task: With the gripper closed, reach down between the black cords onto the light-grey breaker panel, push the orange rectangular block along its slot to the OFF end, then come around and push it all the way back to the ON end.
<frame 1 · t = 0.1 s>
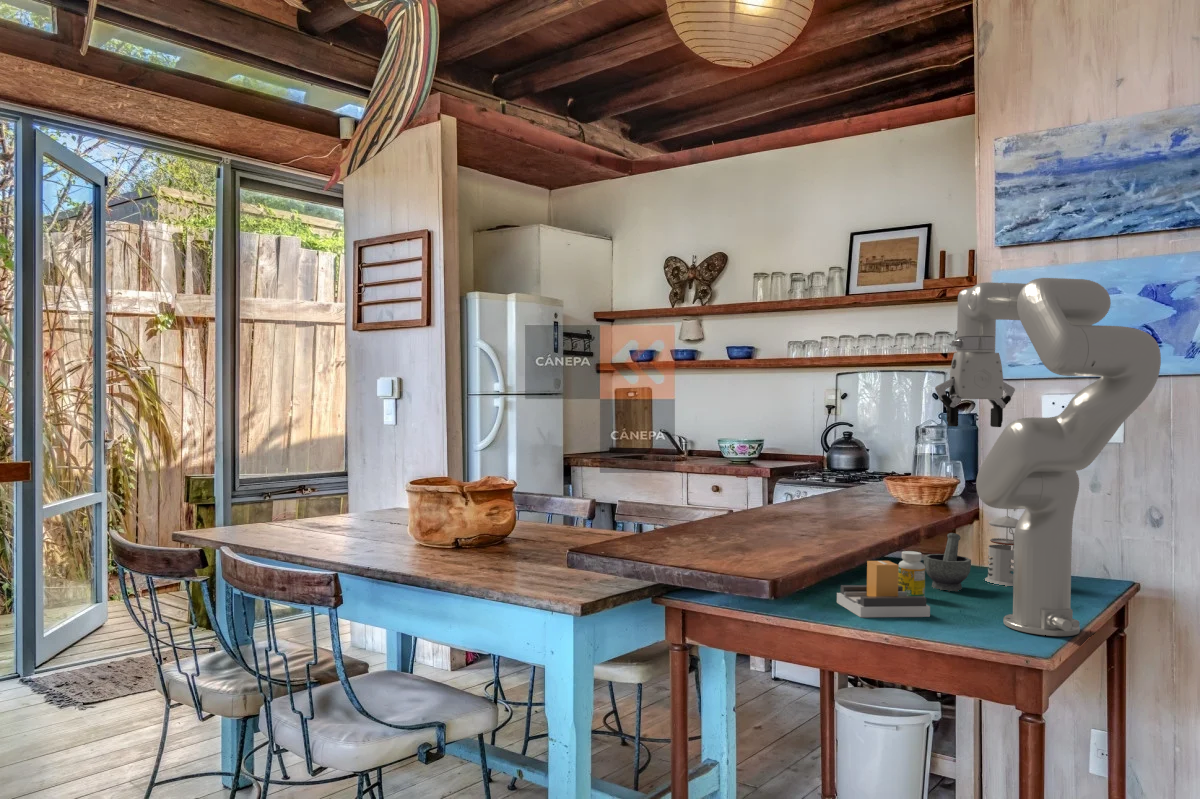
hand: (974, 426, 183), 37 cm above the table, tool pointing down, fingers open, 9 cm apart
orange rectangular block: (882, 580, 172), point 6 cm above the table, slide at 0.0 cm
french press: (1007, 582, 201), on the table
mortar and pestle: (947, 588, 193), on the table
supplement bottle: (911, 598, 183), on the table
breaker panel: (881, 609, 172), on the table
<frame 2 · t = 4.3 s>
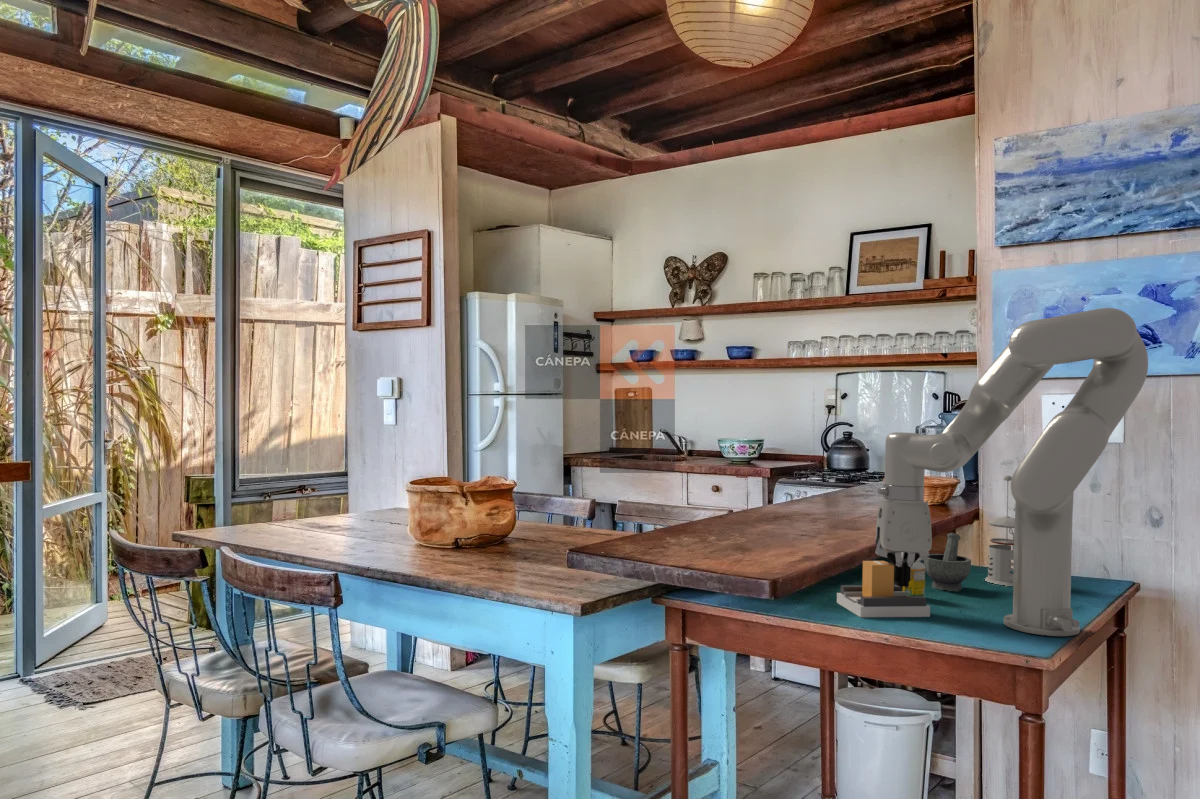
hand: (901, 585, 172), 5 cm above the table, tool pointing down, fingers closed
orange rectangular block: (877, 580, 171), point 6 cm above the table, slide at 0.9 cm, touching gripper
everything else where it was.
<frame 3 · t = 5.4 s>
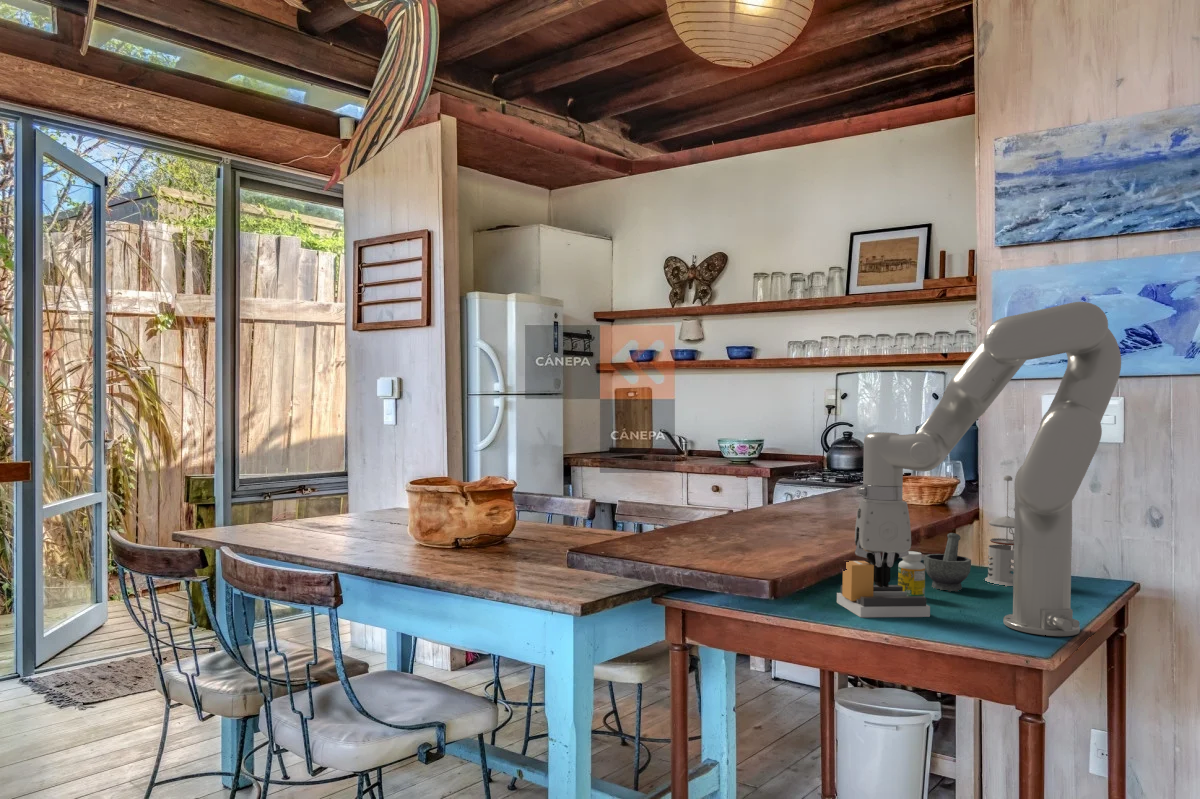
hand: (881, 585, 172), 5 cm above the table, tool pointing down, fingers closed
orange rectangular block: (857, 580, 171), point 6 cm above the table, slide at 5.1 cm, touching gripper
everything else where it was.
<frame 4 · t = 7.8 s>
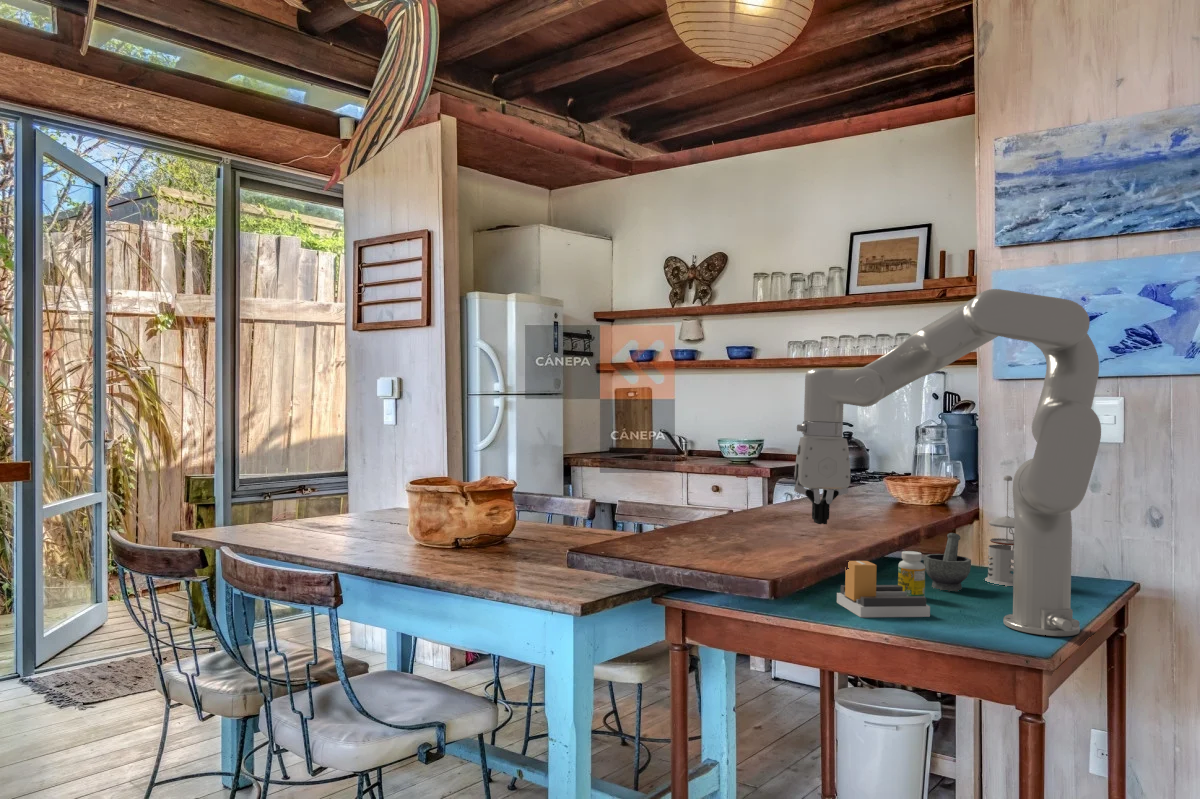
hand: (820, 523, 170), 17 cm above the table, tool pointing down, fingers closed
orange rectangular block: (860, 580, 171), point 6 cm above the table, slide at 4.5 cm
everything else where it was.
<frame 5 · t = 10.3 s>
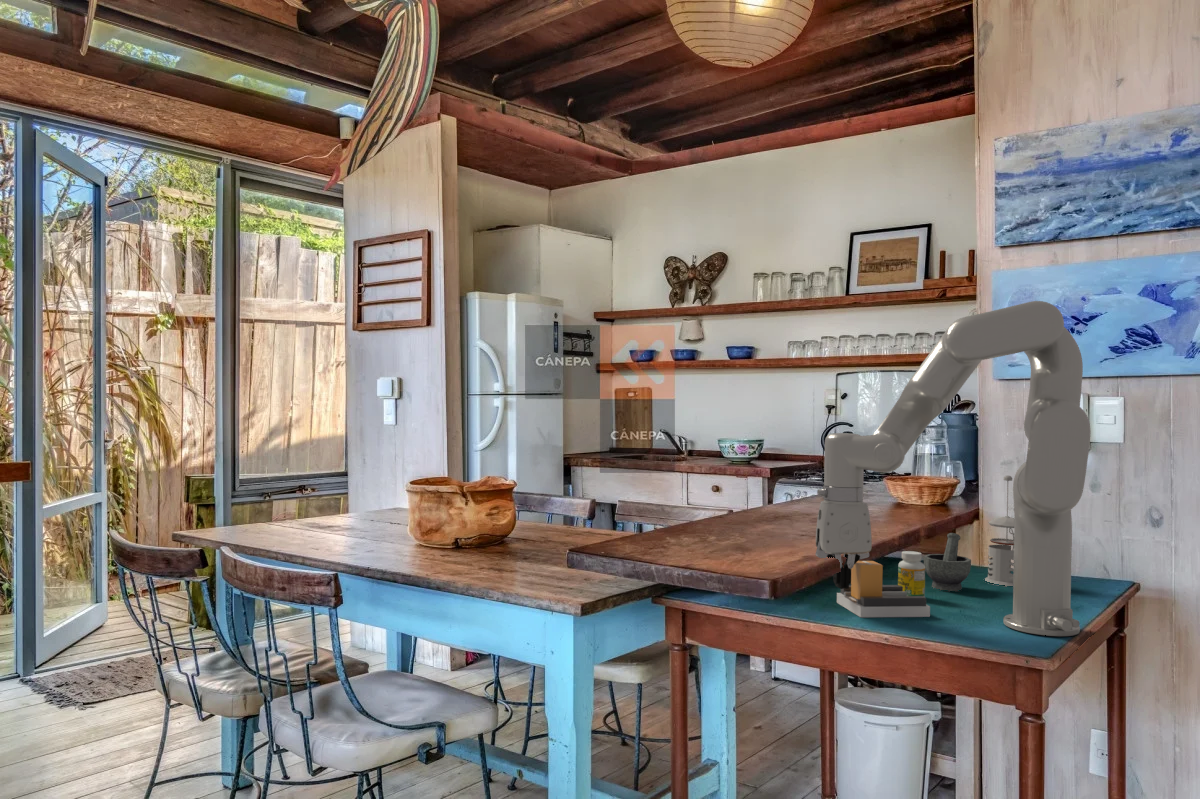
hand: (841, 587, 171), 4 cm above the table, tool pointing down, fingers closed
orange rectangular block: (866, 580, 171), point 6 cm above the table, slide at 3.3 cm, touching gripper
everything else where it was.
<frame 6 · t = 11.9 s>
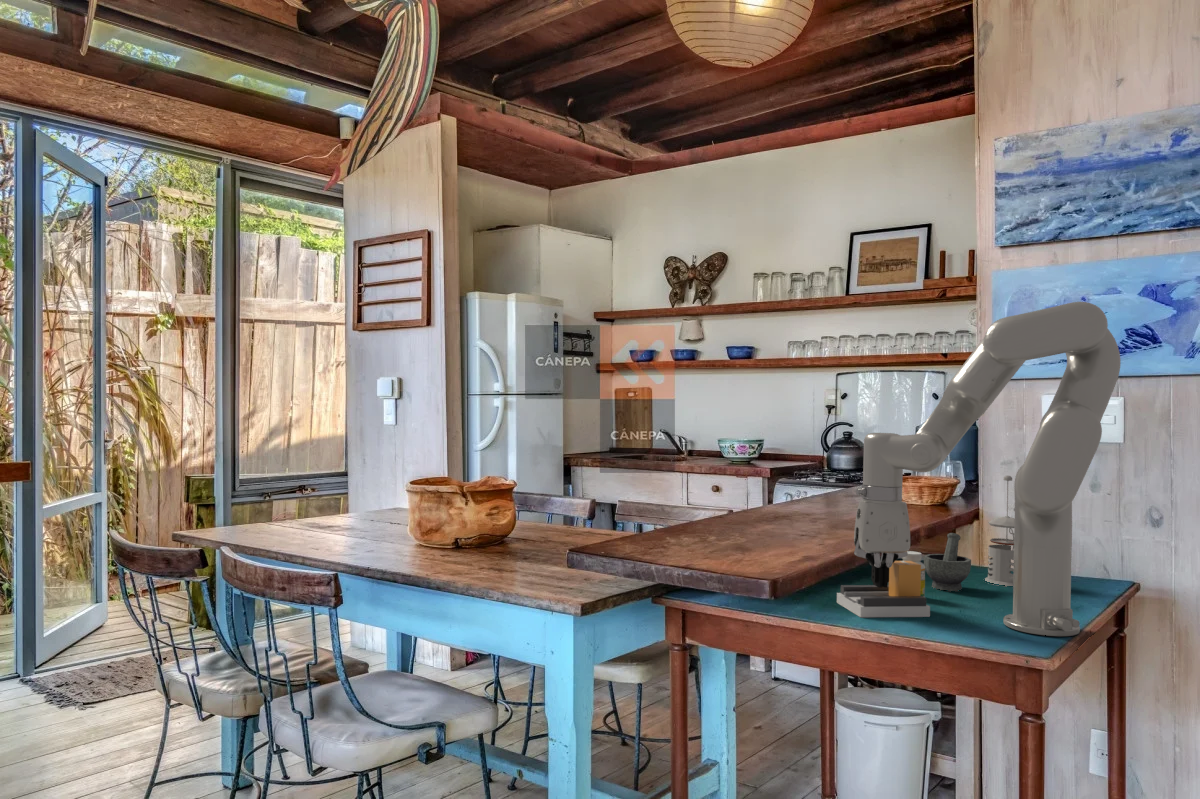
hand: (880, 586, 172), 5 cm above the table, tool pointing down, fingers closed
orange rectangular block: (904, 580, 172), point 6 cm above the table, slide at -4.6 cm, touching gripper
everything else where it was.
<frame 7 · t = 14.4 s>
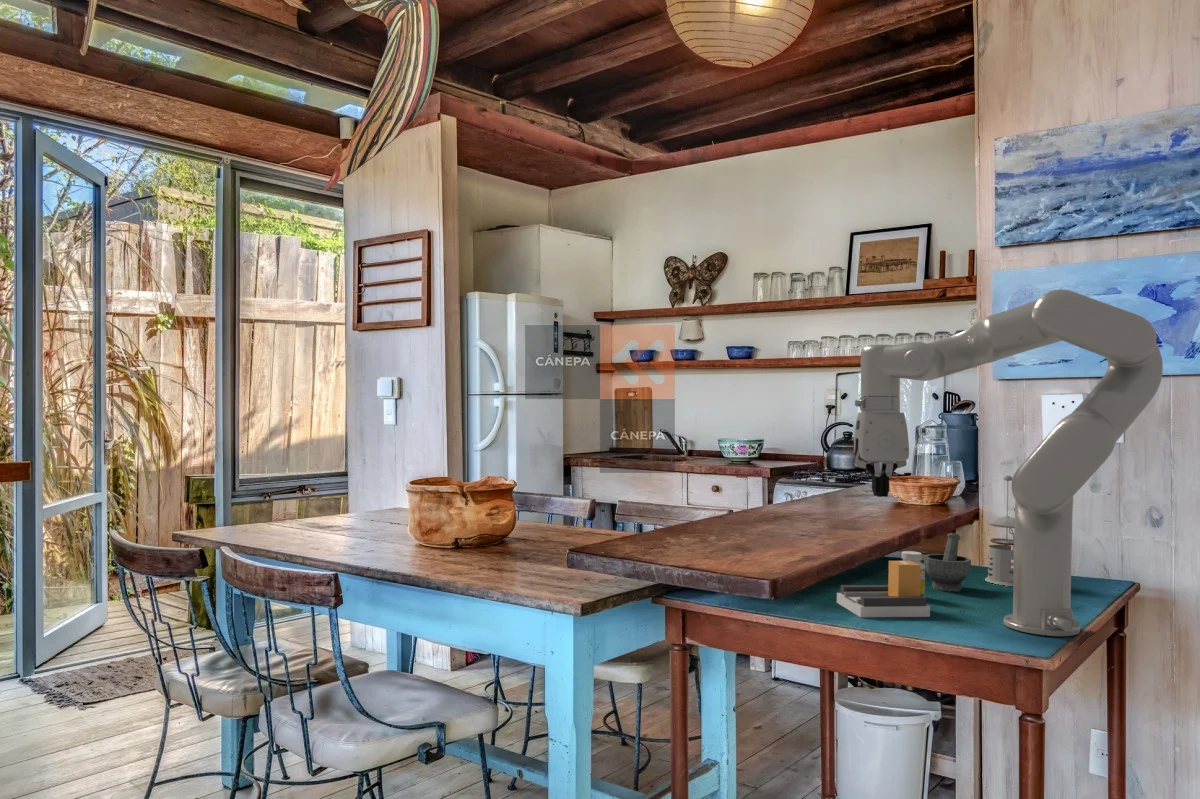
hand: (880, 495, 174), 22 cm above the table, tool pointing down, fingers closed
orange rectangular block: (904, 580, 172), point 6 cm above the table, slide at -4.5 cm
everything else where it was.
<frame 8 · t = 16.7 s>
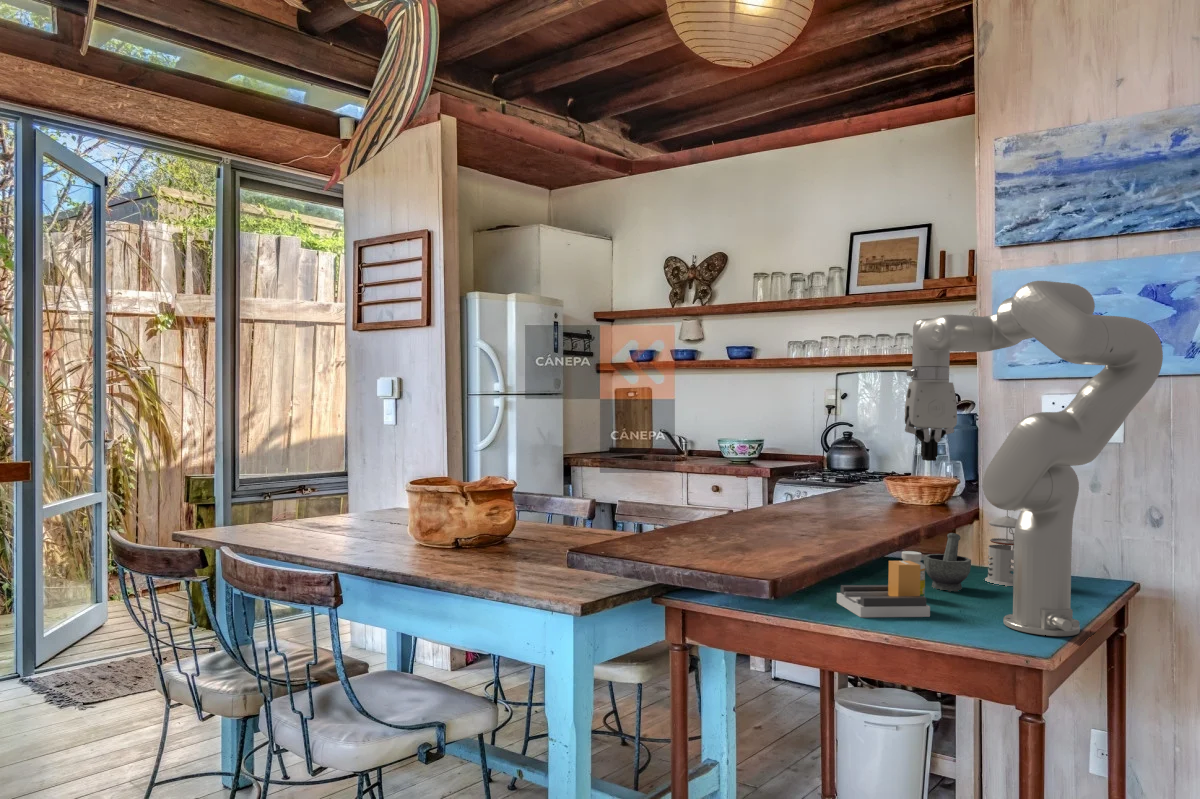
hand: (929, 460, 186), 29 cm above the table, tool pointing down, fingers closed
nothing on the table moved.
at the end: orange rectangular block slide at -4.5 cm; orange rectangular block 0.2 cm from the target spot on the breaker panel, point 5.8 cm above the breaker panel's base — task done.
